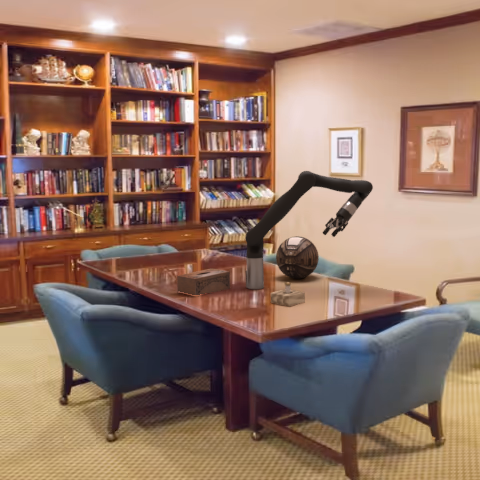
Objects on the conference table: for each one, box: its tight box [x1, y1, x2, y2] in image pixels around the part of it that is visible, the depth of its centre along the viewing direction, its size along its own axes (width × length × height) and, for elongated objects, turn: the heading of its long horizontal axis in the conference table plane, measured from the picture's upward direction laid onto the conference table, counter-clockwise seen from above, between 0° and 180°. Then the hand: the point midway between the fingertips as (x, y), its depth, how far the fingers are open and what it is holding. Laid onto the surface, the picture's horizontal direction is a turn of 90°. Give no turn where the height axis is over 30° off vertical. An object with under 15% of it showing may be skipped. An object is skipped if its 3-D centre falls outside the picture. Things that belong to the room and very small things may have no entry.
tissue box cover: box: [176, 268, 231, 295], centre depth 331 cm, size 26×14×10 cm, turn 136°
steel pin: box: [284, 281, 292, 294], centre depth 300 cm, size 3×3×10 cm
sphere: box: [275, 235, 320, 280], centre depth 357 cm, size 25×25×25 cm
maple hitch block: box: [270, 288, 306, 307], centre depth 301 cm, size 12×12×5 cm
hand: (328, 234), depth 317 cm, fingers open, 8 cm apart
